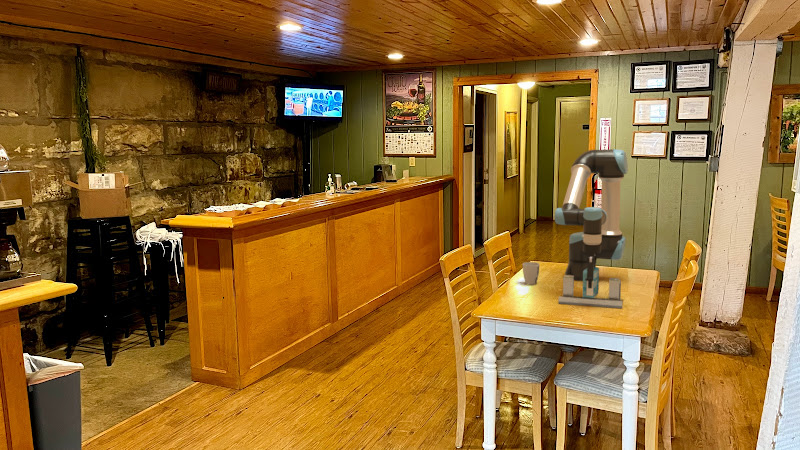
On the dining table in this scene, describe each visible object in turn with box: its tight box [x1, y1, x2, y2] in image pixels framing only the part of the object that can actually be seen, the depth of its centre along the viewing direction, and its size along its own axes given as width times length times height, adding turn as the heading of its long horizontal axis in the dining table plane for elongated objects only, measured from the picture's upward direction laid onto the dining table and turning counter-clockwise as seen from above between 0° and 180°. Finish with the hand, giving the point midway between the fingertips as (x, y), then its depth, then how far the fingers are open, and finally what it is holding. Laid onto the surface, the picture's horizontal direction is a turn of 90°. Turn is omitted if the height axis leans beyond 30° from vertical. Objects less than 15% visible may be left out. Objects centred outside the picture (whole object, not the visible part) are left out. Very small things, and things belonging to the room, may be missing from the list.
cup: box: [522, 261, 540, 286], centre depth 297 cm, size 8×8×10 cm
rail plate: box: [558, 274, 623, 309], centre depth 262 cm, size 10×26×11 cm, turn 69°
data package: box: [582, 266, 600, 298], centre depth 263 cm, size 12×4×12 cm, turn 151°
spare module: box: [619, 280, 622, 300], centre depth 266 cm, size 5×4×8 cm
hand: (590, 291), depth 263 cm, fingers closed on data package, 13 cm apart
